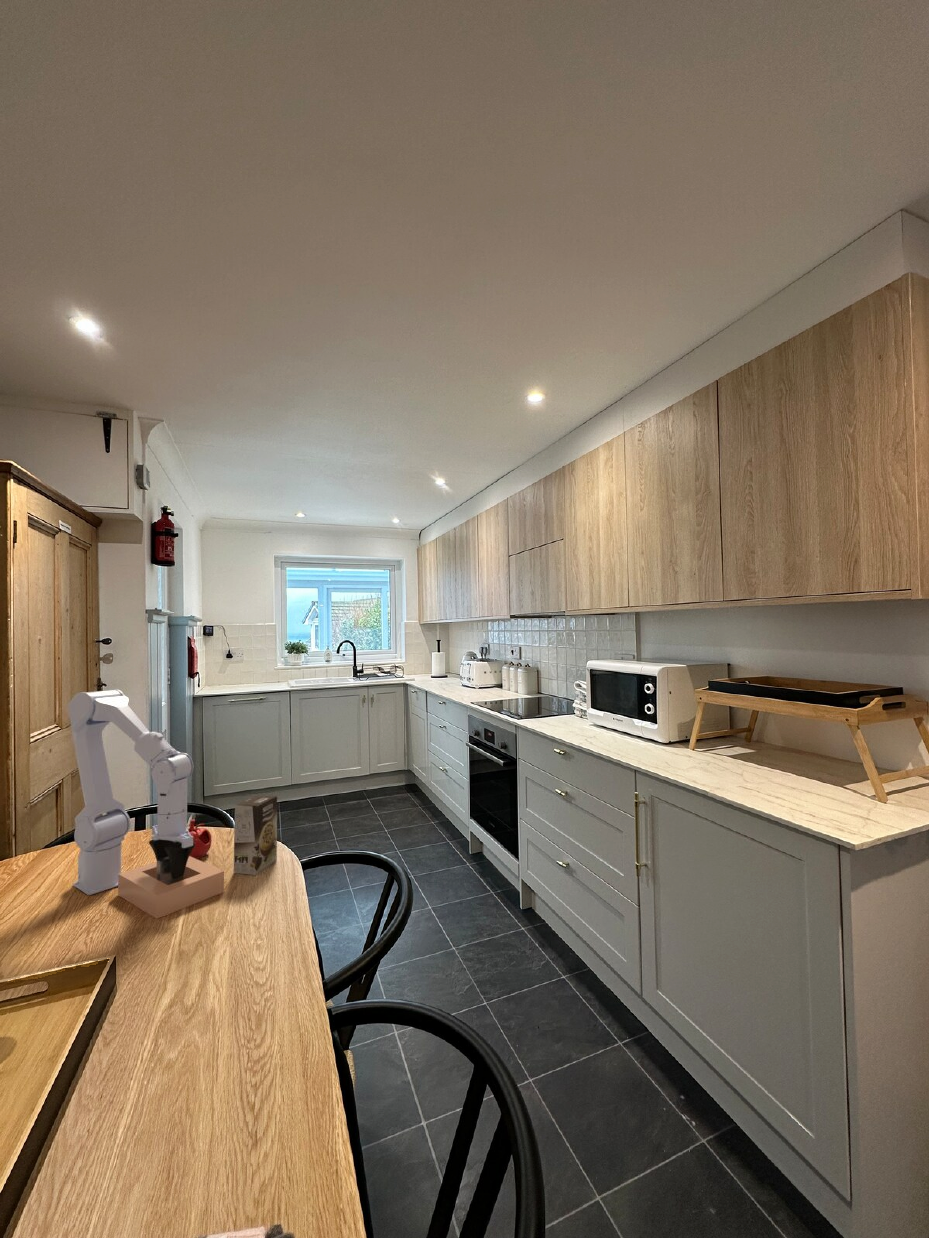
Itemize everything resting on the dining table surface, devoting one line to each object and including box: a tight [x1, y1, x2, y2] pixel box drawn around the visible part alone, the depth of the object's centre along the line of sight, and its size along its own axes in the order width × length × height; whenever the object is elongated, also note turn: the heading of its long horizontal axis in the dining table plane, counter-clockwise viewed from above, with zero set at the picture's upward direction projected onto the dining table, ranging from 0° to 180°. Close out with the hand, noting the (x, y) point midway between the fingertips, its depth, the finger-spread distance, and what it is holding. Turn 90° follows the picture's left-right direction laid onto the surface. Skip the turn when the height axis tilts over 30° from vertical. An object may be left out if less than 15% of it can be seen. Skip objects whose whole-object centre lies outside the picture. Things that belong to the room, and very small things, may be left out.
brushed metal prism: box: [156, 857, 183, 885], centre depth 116 cm, size 4×5×8 cm
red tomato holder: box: [187, 819, 213, 860], centre depth 138 cm, size 10×10×9 cm
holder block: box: [117, 856, 225, 919], centre depth 117 cm, size 18×14×4 cm
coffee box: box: [233, 795, 278, 876], centre depth 131 cm, size 9×6×16 cm
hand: (171, 873), depth 117 cm, fingers open, 5 cm apart
